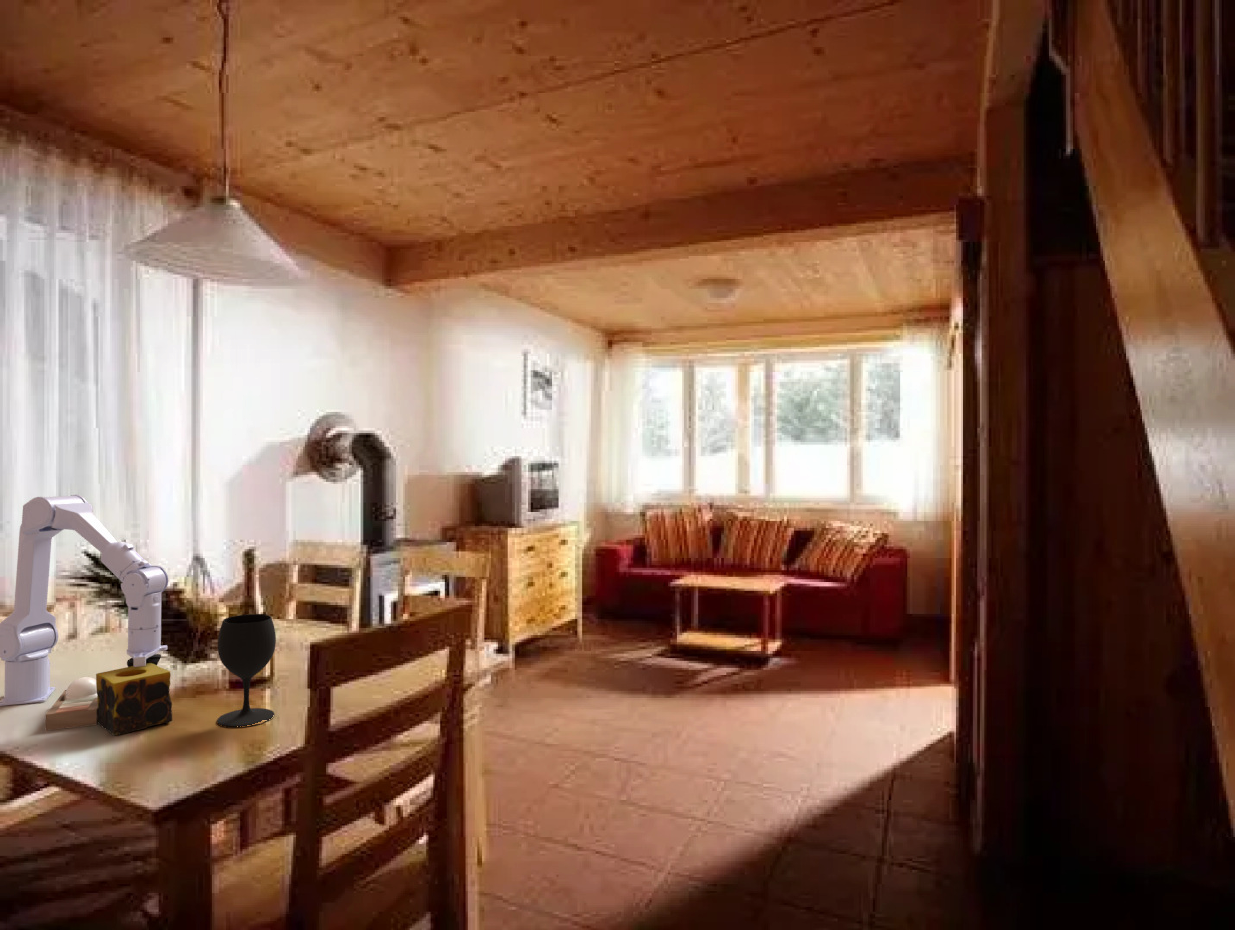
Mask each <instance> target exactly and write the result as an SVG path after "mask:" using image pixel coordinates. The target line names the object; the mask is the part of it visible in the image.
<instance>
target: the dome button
mask: <svg viewBox="0 0 1235 930" xmlns="http://www.w3.org/2000/svg"><path fill="white" fill-rule="evenodd" d="M65 690H66V700H70V699H81V698H91V697H95V698H97V687H96V678H94V677H89V676H83V677H80V678H77V679H75V680H73V681H72V682H71V683H69V685H68V686H67V689H65Z"/></svg>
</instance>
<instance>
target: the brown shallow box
mask: <svg viewBox="0 0 1235 930" xmlns="http://www.w3.org/2000/svg"><path fill="white" fill-rule="evenodd" d="M66 690H67V689H64V691H63V692H62V693H61V695H60V696H59V697H58V698H57V700H56V701H55V702H54V703H53V705H52V706H51V707H50V709H49V710H48V711H47V712H46V713H45V730H44V731H52V730H53V731H54V730H60V729H62V730H63V729H69V728H70V729H71V728H78V727H87V726H89V727H90V726H97V724H98V722H97V708H98V702H97V698H95V697H91V698H81V699H70V700H66Z"/></svg>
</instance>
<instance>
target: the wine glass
mask: <svg viewBox="0 0 1235 930" xmlns="http://www.w3.org/2000/svg"><path fill="white" fill-rule="evenodd" d="M217 638H218V639H217V653H218V657H219V659H220V662H221V664H222V665H223V666H224V667H225V668H226V669H227V670H228V671H229V672H230V673H231V674H233V675H235V676H236V677H238V678H240V679H241V682H242V685H243V704H242V708H241V709H238V710H237V709H236V710H232V711H230V712H227V713H224V714H222V715H220V716H219V717H218V718H217V720H216V723H217V722H218V724H220V725H222V726H226V727H225V728H228V727H237V726H238V727H240V726H241V727H242V726H247V725H252V724H255V723H258V722H261V721H262V720H269V719H271V718H272V717H273V715H274V716H275V712H274V710H272V709H268V708H264V707H263V708H262V707H261V708H260V707H251V705H250V687H251V686H250V684H251V681H252V678H254V676H256V675H257V674H258V673H260V672H261V671H262V670H263V669H264V668H265V667H266V666H267V665H268V664H269V662H270V661H271V659H272V657H273V655H274V653H275V650H276V643H277V637H276V629H275V625H274V620H273V619H272V616H271V615H268V614H261V613H259V614H258V613H255V614H254V613H253V614H250V613H249V614H240V615H239V614H238V615H235V616H229V617H226V618H224V619H223V620H222V623H221V626H220V629H219V632H218V637H217ZM273 718H274V717H273ZM273 718H272V719H273ZM272 719H271V720H272ZM218 724H217V725H218ZM220 725H219V726H220ZM222 726H221V727H222Z"/></svg>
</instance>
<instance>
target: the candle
mask: <svg viewBox="0 0 1235 930" xmlns="http://www.w3.org/2000/svg"><path fill="white" fill-rule="evenodd" d="M171 675H172V674H171V671H170V670H168V669H165V668H163V667H161V666H159V665H158V664H157V665H155V664H152V663H147V664H146V666H139V667H133V666H131V667H128V666H127V667H121V668H117V669H112V670H109V671H103V672H98V673H96V674H95V679H96V687H97V702H98V708H97V722H98V723H97V724H98V725H99V726H100V727H102V728H104V730H106V731H108V732H109V733H110V734H112V735H114V736H118V735H124V734H127V733H131V732H135V731H140V730H144V729H145V728H146V729H147V728H149V727H152V726H153V727H154V726H156V725H161V724H166V723H170V722H172V721H173V710H172V706H173V702H172V698H171V693H170V688H171V687H170V686H171V677H172V676H171Z"/></svg>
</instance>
